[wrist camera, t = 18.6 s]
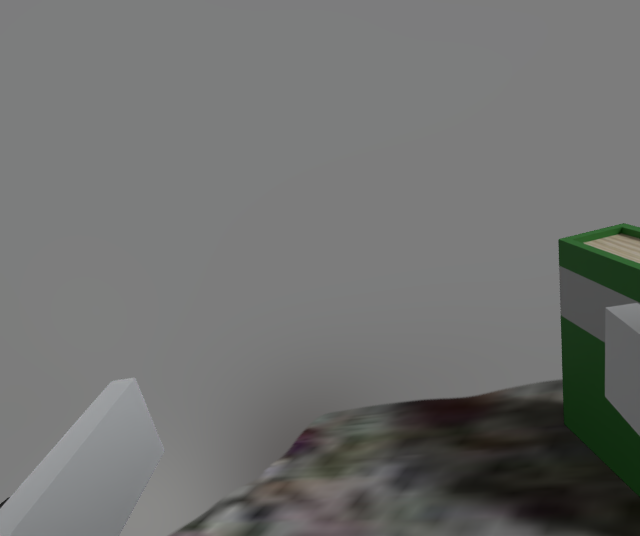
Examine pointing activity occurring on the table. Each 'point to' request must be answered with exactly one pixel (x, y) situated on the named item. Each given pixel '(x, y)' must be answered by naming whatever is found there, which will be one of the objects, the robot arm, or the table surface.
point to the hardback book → (597, 340)
